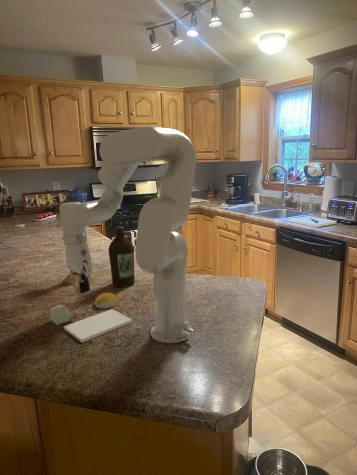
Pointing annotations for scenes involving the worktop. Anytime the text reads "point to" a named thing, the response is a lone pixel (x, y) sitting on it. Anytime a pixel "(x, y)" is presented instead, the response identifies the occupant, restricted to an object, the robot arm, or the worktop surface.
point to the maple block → (77, 283)
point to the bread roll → (106, 300)
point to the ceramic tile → (97, 325)
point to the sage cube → (59, 314)
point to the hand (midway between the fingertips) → (81, 289)
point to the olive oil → (121, 260)
